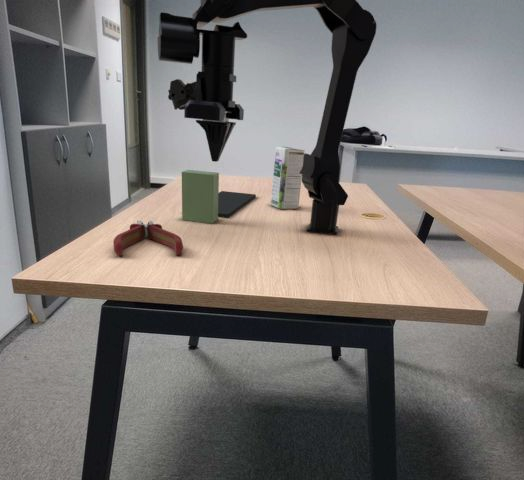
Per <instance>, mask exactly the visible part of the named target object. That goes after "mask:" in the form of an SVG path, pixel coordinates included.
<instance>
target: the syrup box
mask: <svg viewBox="0 0 524 480" xmlns="http://www.w3.org/2000/svg"><path fill="white" fill-rule="evenodd" d="M305 153H306V152H305V149H300V148H296V147H292V146H276V147H275V152H274V161H273V162H274V163H273V173H272V185H271V187H272V188H271V197H270V198H271V199H270V205H271V206H272V207H275V208H276V209H279V210H297V209H299V205H300V197H301V188H302V174H300V171H301V169H302V166H303V157H304V154H305Z"/></svg>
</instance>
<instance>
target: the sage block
mask: <svg viewBox="0 0 524 480" xmlns="http://www.w3.org/2000/svg"><path fill="white" fill-rule="evenodd" d="M219 177H220V172H215V171H205V170H194V169H186V170H183V171H181V220H182V221H189V222H198V223H205V224H206V223H207V224H214V223H215V222H217V221H218V220H219V217H218V193H219V192H220V191H219V190H220V189H219V187H220V186H219V185H220V178H219Z"/></svg>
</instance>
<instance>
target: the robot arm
mask: <svg viewBox="0 0 524 480" xmlns="http://www.w3.org/2000/svg"><path fill="white" fill-rule="evenodd" d="M302 8H314V9H315V10H316V12H317V13H318V15H319V17H320V19H321V20H322V22H323V24H324V26H325V27H326V28H327V29H328V30H329V32H330V33H331V34H332V36H331V47H330V48H331V49H330V51H331V58H332V72H331V76H330V81H329V86H328V90H327V94H326V99H325V104H324V108H323V113H322V117H321V122H320V126H319V131H318V136H317V140H316V145H315V147H314V148H313V150H312V151H311V153H310V154H309V153H306V152H304V157H303V166H302V169H301V171H300V174H302V179H301V184H302V185H303V187H304V188H305V189H306V190H307V193H308V194H307V195H308V197H309V198H310V199H312V204H311V212H310V222H309V224H308V225H307V227H306V232H310V233H318V234H327V235H337V234H338V230H339V226H338V225H337V224H338V217H339V210H340V206H345V204H346V202H347V200H348V198H349V195H348V193H347V192H346V190H345V189H344V188H343V186H342V185H341V183H340V176H341V175H340V174H341V160H340V153H339V152H340V151H339V150H340V146H341V141H342V137H343V132H344V129H345V124H346V120H347V117H348V111H349V108H350V103H351V99H352V96H353V92H354V87H355V83H356V78H357V75H358V72H359V69H360V67H361V66H362V64H363V62H364V61H365V59H366V58H367V56H368V54H369V53H370V49H371V47H372V44H373V42H374V39H375V37H376V33H377V21H376V20H375V17H374V15H373V14H372V13H371V12H370V11H369V10H367V9H364V8H363V7H362V5H361V4H360V3H359V2H358V1H357V0H200V6H199V7H198V9H196V10H195V11H194V12H193V13H192V15H191V16H192V17H188V16H182V15H174V14H172V13H169V12H162V11H161V12H160V13H159V15H158V17H159V20H158V21H159V23H158V36H157V56H158V60H159V61H160V62H170V63H177V64H178V63H179V64H187V65H192V64H193V63H194V62H193V61H194V58H195V59H198V58H199V57H200V51H201V71H199V70H198V71H197V73H196V77H195V78H196V80H195V81H192V82H187V83H186V84H185V82H184V81H183V80H182V79H179V78H176V79H173V80H171V81H169V82H170V84H169V89H167V91H168V95H167V99H168V100H169V101H171V102H172V105H173V108H174V110H175V111H176V110H179V111H183V110H184V112H183V113H184V114H183V115H184V119H195V122H196V124H198V125H199V127H200V128H201V129H202V130H203V131H204V132H205V137H206V140H207V141H206V142H207V145H208V151H209V155H210V158H211V161H212V162H216V163H217V162H219V161H220V158H221V156H222V154H223V152H224V149H225V147H226V145H227V143H228V141H229V138H230V136H231V134H232V132H233V130H234V128H235V126H236V125H237V122H234V121H230V120H237V121H244V114H245V109H244V108H243V106H242V105H241V104H240V103H236V101H235V100H233V98H234V83H237V75H235V54H236V53H235V52H236V41H243V40H246V39H247V38H248V33H247V32H246V31H245V30H244V29H243V28H242V26H241V24H240V22H239V21H236V22H234V23H233V25H232V26H229V25H222V24H220V23H225V22H228V21H232V20H234V19H238V18H240V17H243V16H246V15H248V14H252V13H255V12H266V11H278V10H290V9H302ZM211 22H212V23H215V25H214V27H213V30H212V29H203V27H205V26H206V25H208V24H209V23H211ZM200 36H201V37H200ZM200 49H201V50H200Z"/></svg>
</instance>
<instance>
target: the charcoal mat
mask: <svg viewBox="0 0 524 480" xmlns="http://www.w3.org/2000/svg"><path fill="white" fill-rule="evenodd" d="M256 197H257V194H255V193H245V192H235V191H226V190H221V191H219V193H218V218H224V219H225V218H227V219H228V218H230V217H232V215H234V214H235V213H237V212H238V211H239V210H241V209H242V208H243V207H245V206H246V205H247V204H249V203H250V202H251V201H253V200H254V199H256Z"/></svg>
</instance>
